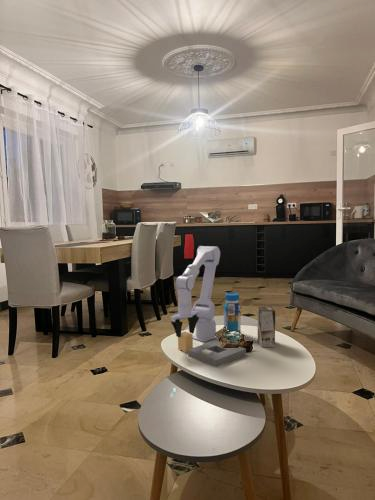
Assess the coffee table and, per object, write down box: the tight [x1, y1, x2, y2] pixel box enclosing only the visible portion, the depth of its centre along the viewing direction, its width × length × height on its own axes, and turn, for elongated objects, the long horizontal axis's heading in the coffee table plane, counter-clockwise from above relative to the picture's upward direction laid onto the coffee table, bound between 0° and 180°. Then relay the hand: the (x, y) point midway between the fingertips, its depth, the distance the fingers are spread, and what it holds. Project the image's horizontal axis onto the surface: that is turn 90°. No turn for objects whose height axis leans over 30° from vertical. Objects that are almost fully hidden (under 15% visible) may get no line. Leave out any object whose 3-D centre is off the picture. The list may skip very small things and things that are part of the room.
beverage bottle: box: [223, 292, 242, 334], centre depth 176 cm, size 8×8×20 cm
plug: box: [177, 331, 194, 353], centre depth 156 cm, size 4×5×7 cm
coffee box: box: [257, 306, 276, 348], centre depth 161 cm, size 9×6×16 cm
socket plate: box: [187, 339, 247, 368], centre depth 149 cm, size 18×16×3 cm
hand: (185, 334), depth 155 cm, fingers open, 7 cm apart
